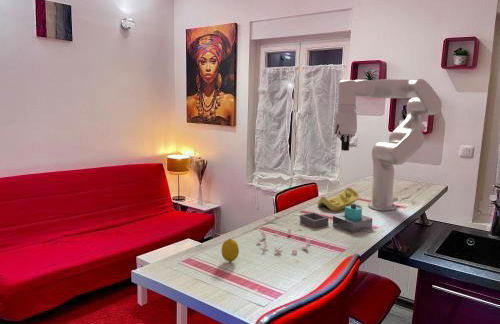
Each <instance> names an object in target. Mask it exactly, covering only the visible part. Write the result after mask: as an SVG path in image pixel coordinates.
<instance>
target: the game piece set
mask: <svg viewBox="0 0 500 324" xmlns="http://www.w3.org/2000/svg"><path fill="white" fill-rule="evenodd" d="M278 234H279V231H277V232H276V233H273V236H277V235H278ZM287 234H288V236H290V235H291V234H292V229H291V227H289V228H288V229H287ZM260 235H261V236H262V238H261V239H260V241H259V240H257V241H256V245H258V244H259V245H260V244H264V245H263V247H261V248H262V251H264V250H266V249H267V251H269V248H268V246H267V243H268V242H267V240H265V239H266V238H267V237H268V236H267V233H266V231H264V230H261V232H260ZM299 238H300V239H302V240H303V239H304V236H303V234H301V235H300V236H299ZM263 239H264V241H263V243H262V240H263ZM305 239H306V242H305V243H306V244H305V245H302V246H300V247H301V248H302V249H303V250H307V249H308V248H309V246H310V245H311V243H310V242H311V238H310V237H306V238H305ZM283 247H284V246H283V245H281V246H280V247H278V248H276V247H274V252H275V253H277V254H281V253H282V252H283V249H282V248H283ZM291 254H292V255H297V254H298V250H297V248H296V247H294V248H292V250H291Z"/></svg>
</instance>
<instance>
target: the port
mask: <svg viewBox="0 0 500 324" xmlns="http://www.w3.org/2000/svg"><path fill="white" fill-rule="evenodd" d="M344 215H345V212H344V213H340V214H336V215H335V214H334V215H333V216H332V226H333V227H336V228H339V229H341V230H344V231H346V232H349V233H351V234H354V233H359V232H362V230H363V231H365V229H366V230H369V228H370V229H372V228H373V217H369V216H366V215H363V214H362V218H361V219H359V220H355V221H354V220H351V219H349V218H346V217H344Z"/></svg>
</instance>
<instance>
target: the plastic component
mask: <svg viewBox="0 0 500 324" xmlns="http://www.w3.org/2000/svg"><path fill="white" fill-rule="evenodd" d="M359 199H360V195H359V193H358V192H357V191H356V190H355V189H353V188H352V187H349V186H348V187H347V188H345V190H344V191H342V192H341V193H339V195H335V196H333V197H329V198H326V197H325V196H321V197H320V199H319V200H318V202H317V204H316V205H317V206H318V207H322V206H326V207H327V208H328V209H329V210H331V211H332V212H338V211H340V210H342V209H344V210H345V207H347V206H351V204H355V203H356V201H357V200H359Z"/></svg>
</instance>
